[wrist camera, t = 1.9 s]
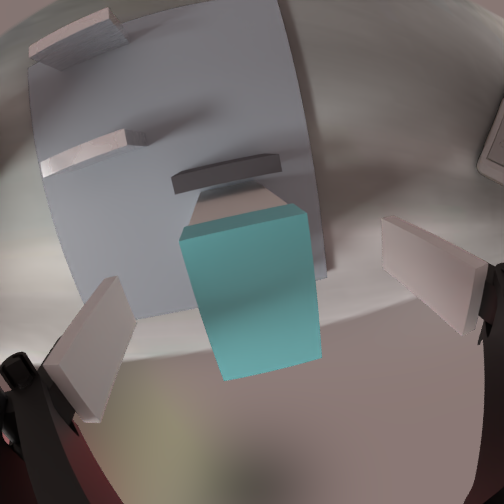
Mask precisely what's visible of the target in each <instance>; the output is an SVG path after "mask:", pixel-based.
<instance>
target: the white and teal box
mask: <svg viewBox="0 0 504 504" xmlns="http://www.w3.org/2000/svg"><path fill="white" fill-rule="evenodd" d="M179 245H180V248H181V252H182V255H183V259H184V262H185V266H186V269H187V272H188V276H189V279H190V282H191V286H192V289H193V292H194V295H195V298H196V302H197V305H198V308H199V311H200V314H201V317H202V320H203V323H204V326H205V329H206V332H207V335H208V338H209V341H210V344H211V347H212V349H213V352H214V355H215V358H216V361H217V363H218V366H219V369H220V372H221V374H222V377H223V380H224V381H227V380H232V379H237V378H242V377H247V376H252V375H257V374H261V373H265V372H270V371H274V370H278V369H282V368H286V367H290V366H294V365H298V364H301V363H305V362H309V361H312V360H316V359H319V358H322V352H321V339H320V325H319V313H318V302H317V292H316V282H315V273H314V264H313V255H312V247H311V239H310V231H309V224H308V216H307V213H306V212H305V211H303V210H302V209H300V208H299V207H298V206H296V205H295V204H293V203H292V204H287V203H286V202H284V201H283V200H282V199H280V198H279V197H278V196H276V195H275V194H274V193H272V192H271V191H269V190H268V189H267V188H265V187H264V186H262V185H261V184H260V183H258V182H257V181H256V180H254V181H249V182H244V183H239V184H234V185H230V186H225V187H221V188H216V189H212V190H207V191H203V192H200V194H199V197H198V200H197V203H196V205H195V208H194V211H193V214H192V217H191V220H190V222H189V225H188V226H186V227H184V228H183V231H182V234H181V236H180V239H179Z"/></svg>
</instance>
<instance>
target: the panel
mask: <svg viewBox="0 0 504 504" xmlns="http://www.w3.org/2000/svg"><path fill="white" fill-rule="evenodd" d="M122 25H123V27H124V28H125V29H126V31H127V32H128V33H129V41H130V43H129V44H126V45H123V46H121V47H118V48H115V49H112V50H110V51H107V52H105V53H102V54H100V55H97V56H95V57H92V58H90V59H88V60H85V61H83V62H81V63H79V64H76V65H74V66H72V67H70V68H68V69H66V70H64V71H62V72H61V71H59V70H56V69H54V68H52V67H50V66H47V65H45V64H43V63H40V62H37V63H36V64H34V65H32V66H31V67H29V68H28V85H29V99H30V109H31V118H32V126H33V133H34V140H35V146H36V152H37V157H38V162H39V167H40V172H41V176H42V181H43V185H44V189H45V193H46V197H47V201H48V205H49V208H50V212H51V215H52V219H53V222H54V225H55V229H56V232H57V235H58V238H59V241H60V244H61V247H62V250H63V253H64V255H65V258H66V261H67V264H68V266H69V269H70V271H71V274H72V277H73V279H74V282H75V284H76V286H77V289H78V291H79V294H80V296H81V298H82V300H83V303H84V305H85V303H86V302H87V301H88V299H89V298H90V297H91V295H92V294H93V293H94V291H95V290H96V289H97V287H98V286H99V285H100V284H101V282H102V281H103V280H104V279H105V278H109V277H113V276H118V278H119V280H120V283H121V286H122V288H123V291H124V293H125V296H126V298H127V301H128V303H129V306H130V308H131V311H132V313H133V315H134V318H135V320H136V319H142V318H147V317H153V316H158V315H163V314H169V313H174V312H179V311H184V310H189V309H194V308H198V305H197V302H196V298H195V295H194V292H193V289H192V286H191V282H190V279H189V276H188V272H187V269H186V266H185V262H184V259H183V255H182V252H181V248H180V245H179V239H180V236H181V234H182V231H183V228H184V227H186V226H188V225H189V222H190V220H191V217H192V214H193V211H194V208H195V205H196V203H197V200H198V197H199V194H200V192H203V191H207V190H212V189H216V188H221V187H225V186H230V185H234V184H239V183H244V182H249V181H254V180H256V181H257V182H258V183H260V184H261V185H262V186H264V187H265V188H267V189H268V190H269V191H271V192H272V193H274V194H275V195H276V196H278V197H279V198H280V199H282V200H283V201H284V202H286V203H287V204H292V203H293V204H295V205H296V206H298V207H299V208H300V209H302V210H303V211H305V212H306V213H307V216H308V224H309V231H310V239H311V247H312V255H313V264H314V273H315V281H316V280H320V279H324V278H327V269H326V259H325V249H324V240H323V231H322V222H321V214H320V206H319V199H318V192H317V185H316V178H315V171H314V165H313V159H312V153H311V147H310V141H309V135H308V130H307V124H306V119H305V114H304V109H303V104H302V99H301V94H300V89H299V85H298V80H297V76H296V71H295V67H294V62H293V58H292V54H291V50H290V46H289V42H288V38H287V34H286V30H285V27H284V23H283V19H282V16H281V12H280V9H279V5H278V2H277V0H213V1H207V2H201V3H196V4H191V5H186V6H181V7H177V8H173V9H169V10H165V11H161V12H157V13H154V14H150V15H147V16H143V17H140V18H137V19H134V20H131V21H128V22H125V23H122ZM121 129H129V130H133V131H137V132H141V133H145V137H146V142H147V147H144V148H140V149H137V150H134V151H131V152H127V153H124V154H121V155H118V156H115V157H112V158H109V159H106V160H104V161H101V162H98V163H95V164H92V165H90V166H87V167H84V168H82V169H79V170H77V171H72V172H67V173H62V174H57V175H53V176H49V177H44V178H43V174H42V170H41V165H40V162H42V161H44V160H46V159H48V158H51V157H53V156H55V155H57V154H59V153H62V152H64V151H66V150H68V149H71V148H73V147H76V146H78V145H80V144H83V143H85V142H88V141H90V140H93V139H96V138H98V137H101V136H104V135H106V134H109V133H112V132H115V131H118V130H121ZM263 153H268V154H279V156H280V162H281V167H282V172H277V173H272V174H266V175H261V176H256V177H251V178H246V179H241V180H237V181H232V182H227V183H223V184H218V185H214V186H209V187H205V188H201V189H196V190H192V191H188V192H184V193H180V194H176V195H175V193H174V189H173V185H172V180H171V177H172V176H174V175H175V174H177V173H179V172H181V171H184V170H188V169H192V168H196V167H201V166H205V165H209V164H214V163H218V162H223V161H228V160H232V159H237V158H242V157H247V156H253V155H258V154H263Z"/></svg>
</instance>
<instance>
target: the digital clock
mask: <svg viewBox="0 0 504 504" xmlns="http://www.w3.org/2000/svg"><path fill="white" fill-rule="evenodd" d="M477 169H478V171H479V173H480V174H481V175H483V176H484V177H486V178H488V179H490V180H492V181H494V182H496V183H498V184H500V185H502V186H504V99H502V102H501V104H500V107H499V110H498V112H497V115H496V118H495V120H494V123H493V125H492V128H491V130H490V132H489V135H488V137H487V139H486V142H485V144H484V149H483V151H482V153H481V156H480V158H479V160H478V162H477Z"/></svg>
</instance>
